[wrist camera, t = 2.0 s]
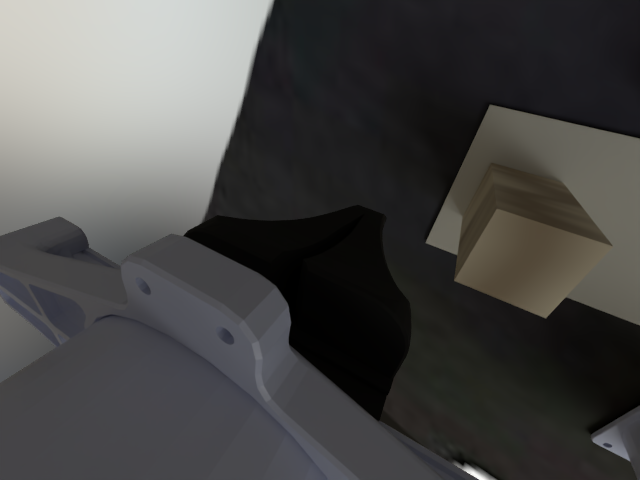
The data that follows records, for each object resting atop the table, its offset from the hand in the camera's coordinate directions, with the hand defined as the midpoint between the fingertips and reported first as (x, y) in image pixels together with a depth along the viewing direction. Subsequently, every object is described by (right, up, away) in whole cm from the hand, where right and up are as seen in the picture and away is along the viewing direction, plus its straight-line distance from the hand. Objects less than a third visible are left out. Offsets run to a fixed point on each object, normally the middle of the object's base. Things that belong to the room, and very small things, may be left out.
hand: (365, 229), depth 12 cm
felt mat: (+14, +1, +5) cm, 15 cm away
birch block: (+10, +2, +6) cm, 12 cm away
